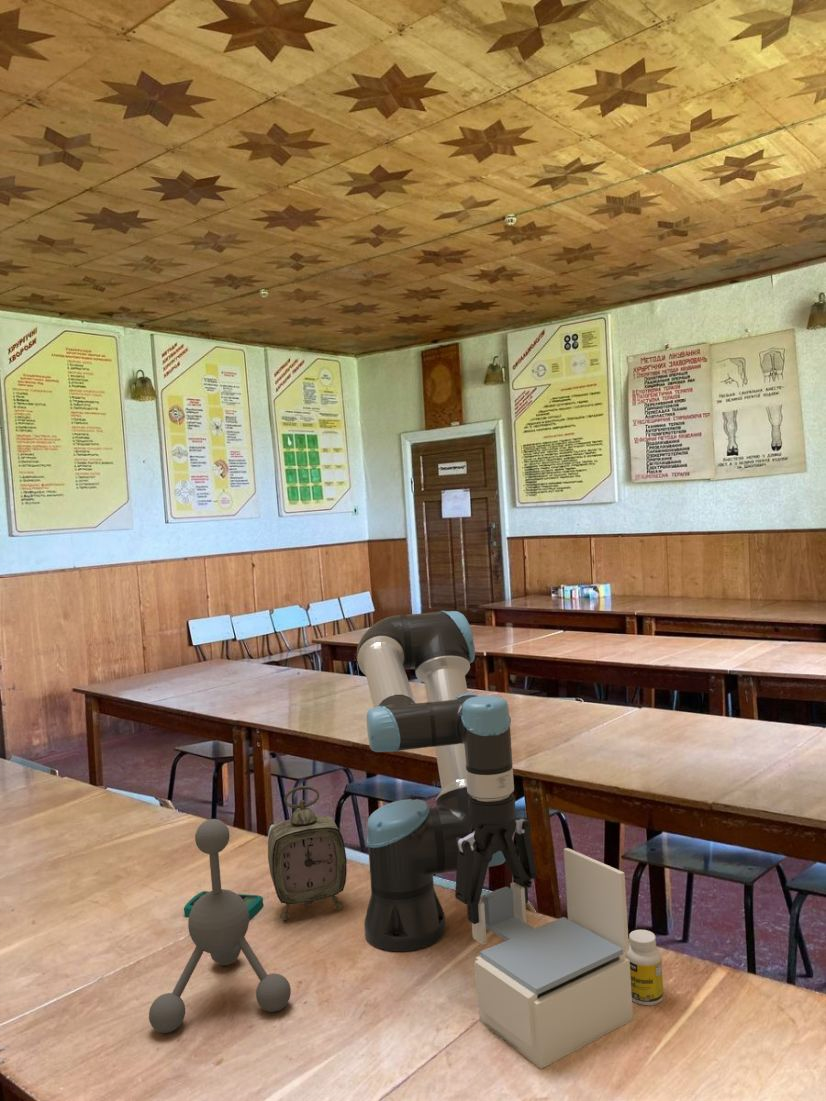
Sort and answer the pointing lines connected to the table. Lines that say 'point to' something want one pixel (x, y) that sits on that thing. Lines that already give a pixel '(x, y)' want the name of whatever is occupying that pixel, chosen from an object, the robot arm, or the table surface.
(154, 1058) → the table surface
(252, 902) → the digital multimeter
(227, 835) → the molecular model
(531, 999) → the carton
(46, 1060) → the table surface
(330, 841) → the tabletop clock
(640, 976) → the supplement bottle
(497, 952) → the flap
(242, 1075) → the table surface
